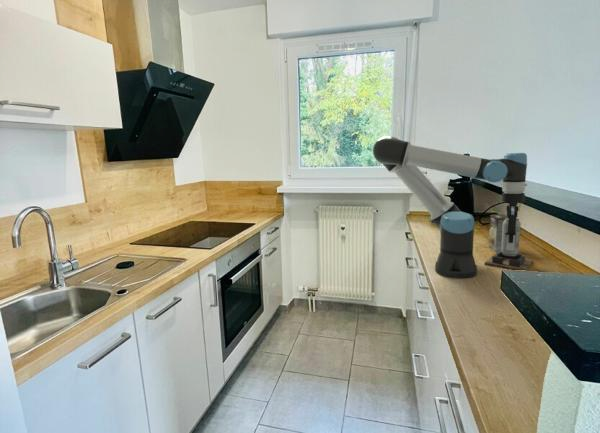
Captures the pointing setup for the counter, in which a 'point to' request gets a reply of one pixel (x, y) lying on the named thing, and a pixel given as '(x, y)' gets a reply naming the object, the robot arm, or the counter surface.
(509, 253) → the energy drink can
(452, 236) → the robot arm
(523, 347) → the counter surface
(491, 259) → the socket board
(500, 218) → the coffee box
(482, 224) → the counter surface
